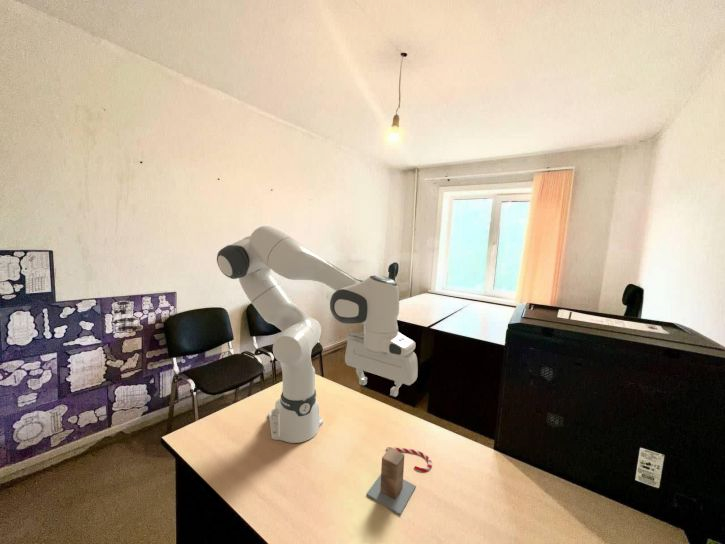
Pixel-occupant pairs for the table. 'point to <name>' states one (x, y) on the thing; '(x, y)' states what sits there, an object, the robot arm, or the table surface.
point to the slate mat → (387, 501)
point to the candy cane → (416, 454)
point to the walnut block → (392, 473)
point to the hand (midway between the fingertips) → (378, 389)
